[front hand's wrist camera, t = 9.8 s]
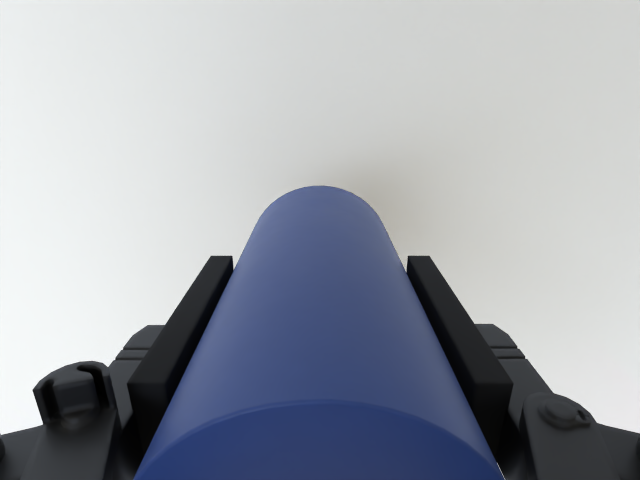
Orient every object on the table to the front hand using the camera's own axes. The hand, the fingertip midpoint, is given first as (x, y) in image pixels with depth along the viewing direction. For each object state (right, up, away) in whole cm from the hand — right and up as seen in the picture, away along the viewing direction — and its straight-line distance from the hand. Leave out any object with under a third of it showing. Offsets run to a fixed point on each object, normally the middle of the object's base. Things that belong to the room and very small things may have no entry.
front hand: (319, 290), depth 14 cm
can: (0, +1, +3) cm, 4 cm away
